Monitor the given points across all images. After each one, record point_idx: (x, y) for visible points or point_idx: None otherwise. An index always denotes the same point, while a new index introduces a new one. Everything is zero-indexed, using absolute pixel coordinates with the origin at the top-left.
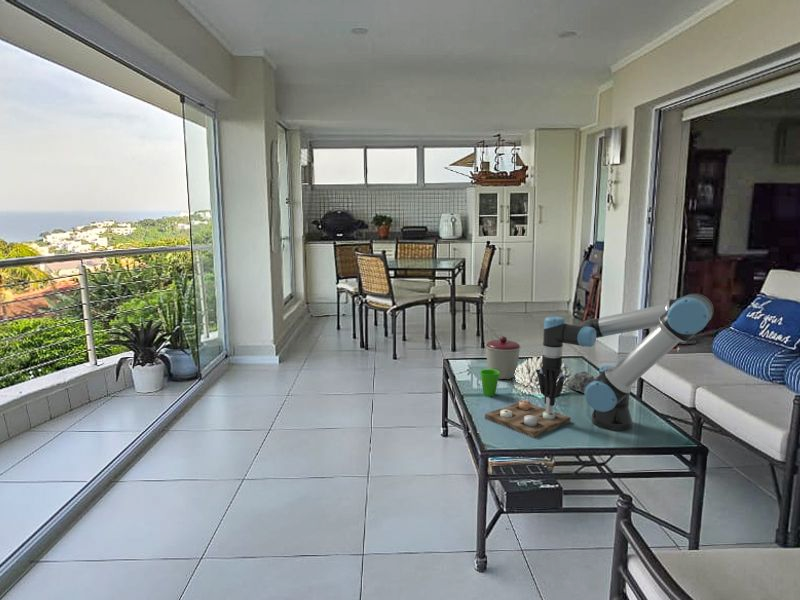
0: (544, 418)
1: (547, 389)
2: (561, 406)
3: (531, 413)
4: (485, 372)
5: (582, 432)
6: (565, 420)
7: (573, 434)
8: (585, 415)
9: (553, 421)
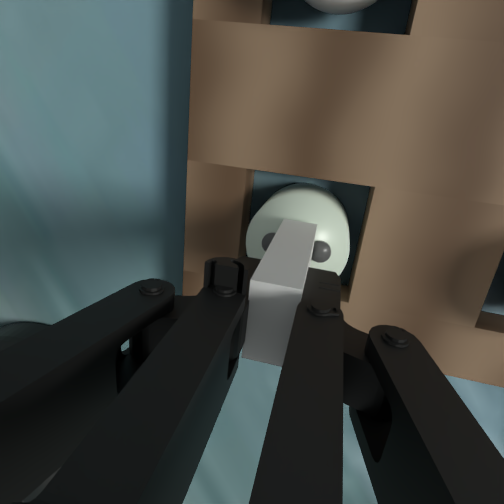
0: (306, 174)
1: (281, 378)
2: (355, 492)
3: (454, 203)
4: None
5: (64, 201)
6: (186, 261)
7: (75, 129)
8: None
9: (221, 166)
